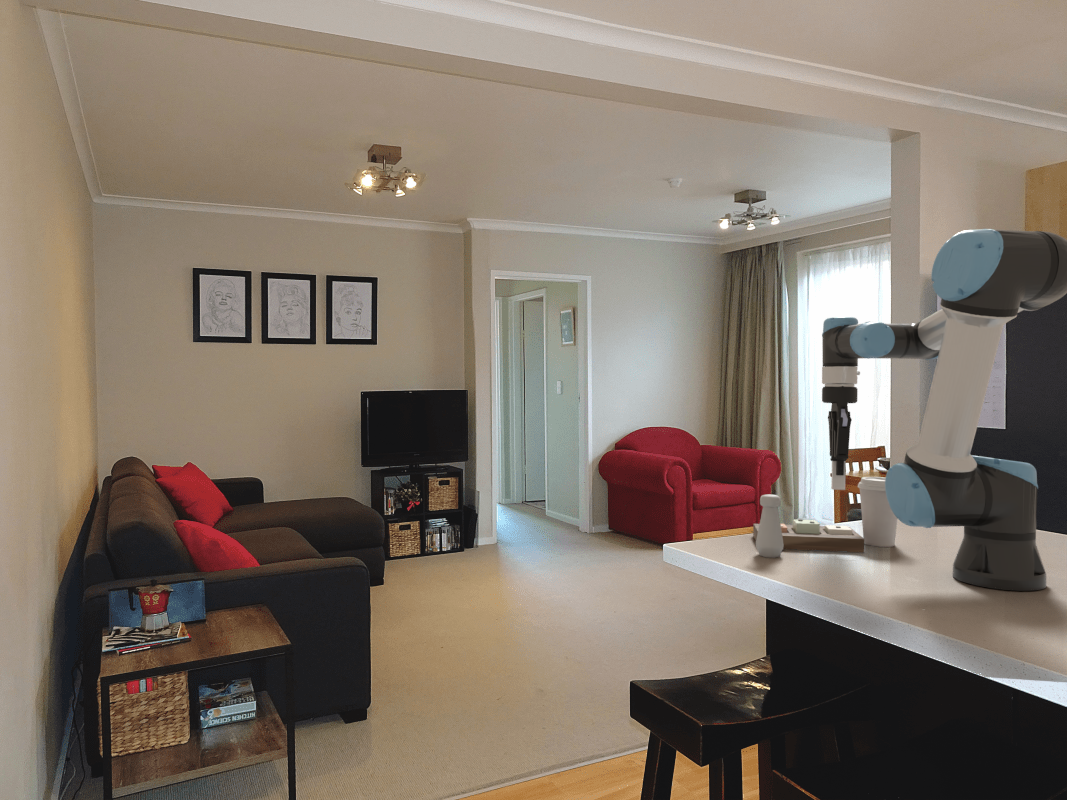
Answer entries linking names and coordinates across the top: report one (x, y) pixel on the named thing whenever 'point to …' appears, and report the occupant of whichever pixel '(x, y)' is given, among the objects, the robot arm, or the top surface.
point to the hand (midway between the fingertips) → (838, 489)
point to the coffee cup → (876, 513)
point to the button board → (819, 540)
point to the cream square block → (838, 530)
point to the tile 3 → (783, 528)
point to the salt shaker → (769, 528)
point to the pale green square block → (806, 526)
